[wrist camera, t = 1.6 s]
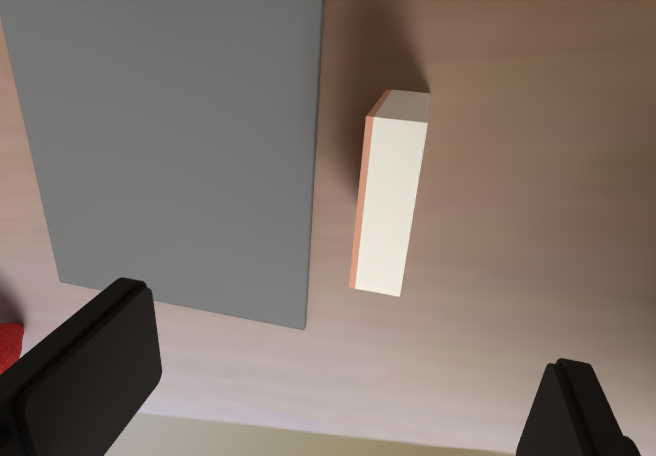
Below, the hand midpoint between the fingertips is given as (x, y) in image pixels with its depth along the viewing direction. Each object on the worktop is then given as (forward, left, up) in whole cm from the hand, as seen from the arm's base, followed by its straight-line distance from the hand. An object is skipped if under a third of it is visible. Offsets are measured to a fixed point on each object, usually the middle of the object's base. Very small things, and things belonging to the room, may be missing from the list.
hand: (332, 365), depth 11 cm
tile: (0, 0, -18) cm, 18 cm away
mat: (+15, 0, -18) cm, 23 cm away
